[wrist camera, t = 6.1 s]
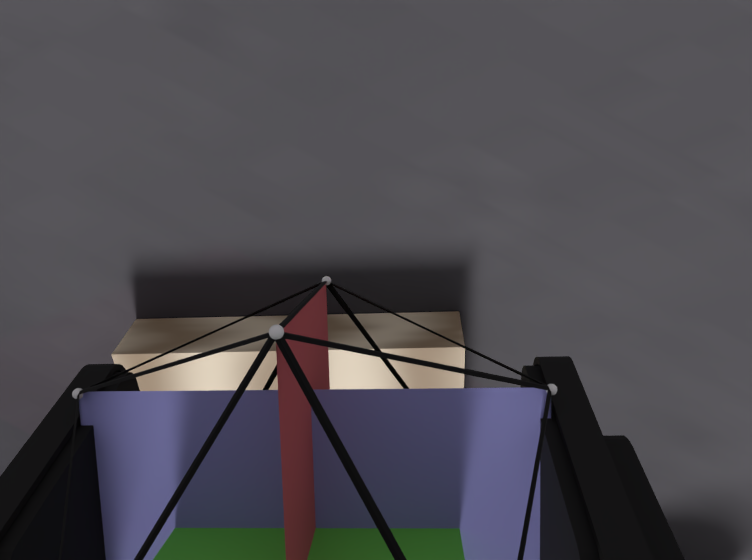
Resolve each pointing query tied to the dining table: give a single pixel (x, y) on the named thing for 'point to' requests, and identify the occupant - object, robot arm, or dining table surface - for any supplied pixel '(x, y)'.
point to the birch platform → (234, 364)
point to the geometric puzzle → (318, 460)
